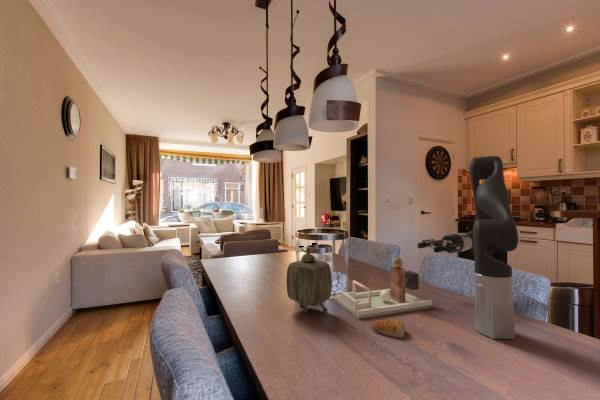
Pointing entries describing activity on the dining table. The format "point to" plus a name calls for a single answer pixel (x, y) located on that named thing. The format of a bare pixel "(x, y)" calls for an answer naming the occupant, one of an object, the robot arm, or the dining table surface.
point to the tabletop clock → (309, 281)
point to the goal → (350, 298)
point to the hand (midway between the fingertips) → (426, 247)
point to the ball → (385, 296)
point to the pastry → (389, 328)
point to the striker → (401, 280)
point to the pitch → (386, 304)
